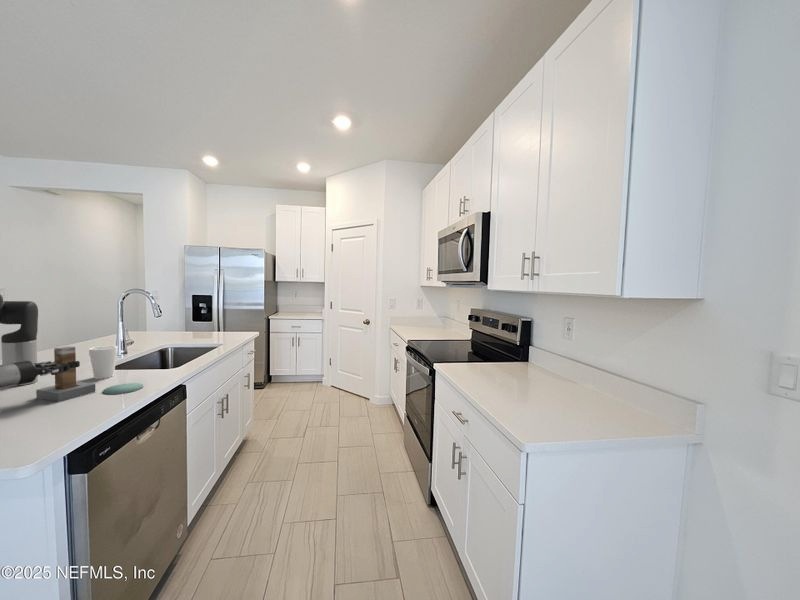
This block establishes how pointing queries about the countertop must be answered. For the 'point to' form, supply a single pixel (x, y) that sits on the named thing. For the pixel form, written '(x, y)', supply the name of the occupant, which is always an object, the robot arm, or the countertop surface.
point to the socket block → (65, 392)
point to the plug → (68, 377)
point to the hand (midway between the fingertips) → (74, 363)
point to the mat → (123, 388)
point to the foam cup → (103, 360)
